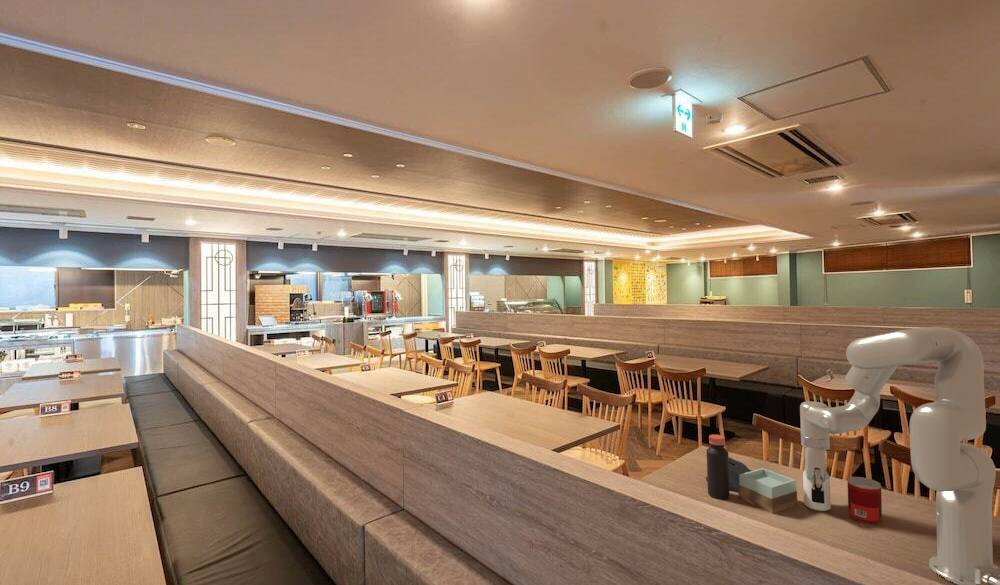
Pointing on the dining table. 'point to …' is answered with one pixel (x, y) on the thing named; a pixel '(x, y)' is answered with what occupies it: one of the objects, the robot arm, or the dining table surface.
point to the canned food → (864, 500)
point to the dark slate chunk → (735, 473)
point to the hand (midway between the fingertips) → (816, 496)
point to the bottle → (718, 468)
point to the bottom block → (767, 500)
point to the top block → (767, 483)
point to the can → (808, 493)
